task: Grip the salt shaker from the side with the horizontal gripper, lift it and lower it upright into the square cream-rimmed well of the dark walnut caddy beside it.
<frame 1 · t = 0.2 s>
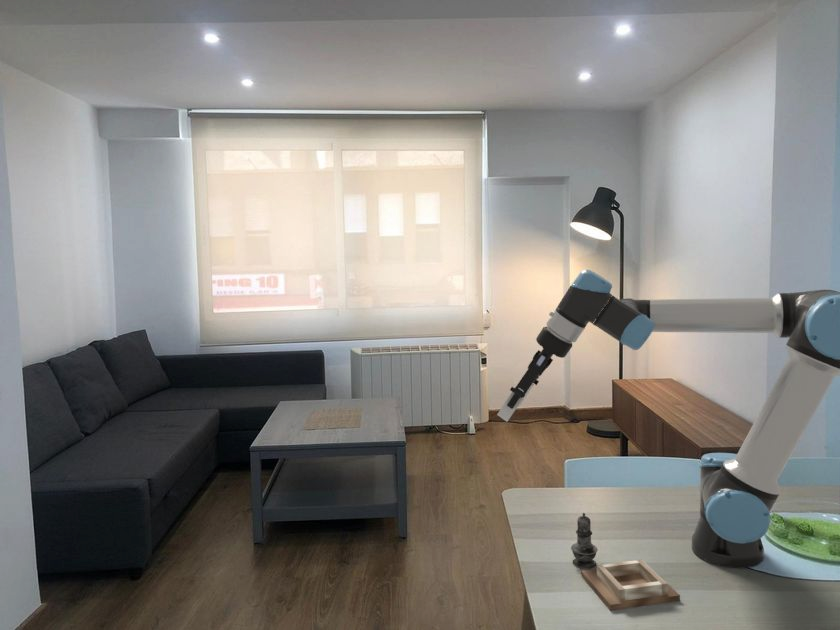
hand: (508, 410, 153), 35 cm above the table, tool tilted 35°, fingers open, 13 cm apart
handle: (760, 512, 175), on the table
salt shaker: (584, 564, 151), on the table
caddy: (628, 587, 140), on the table
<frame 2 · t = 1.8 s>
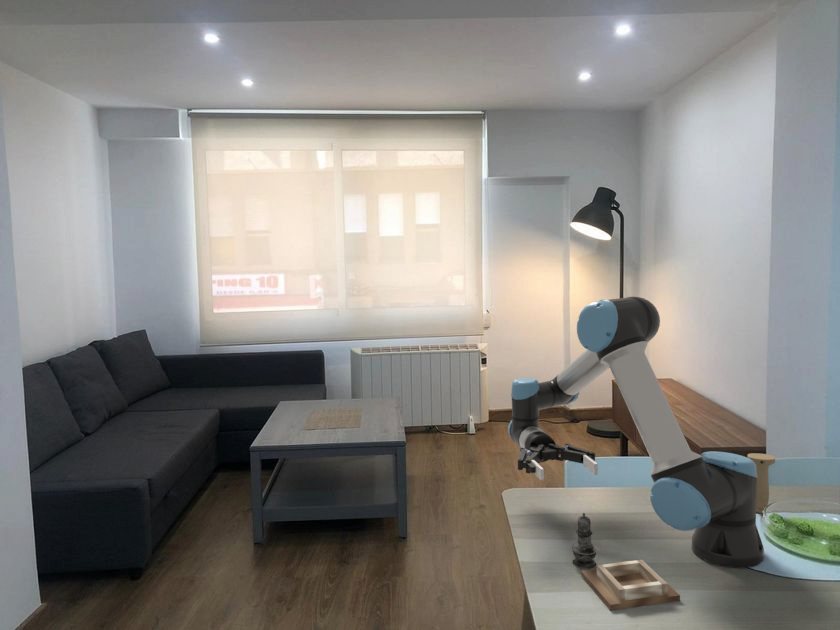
hand: (569, 472, 158), 18 cm above the table, tool horizontal, fingers open, 13 cm apart
nothing on the table moved.
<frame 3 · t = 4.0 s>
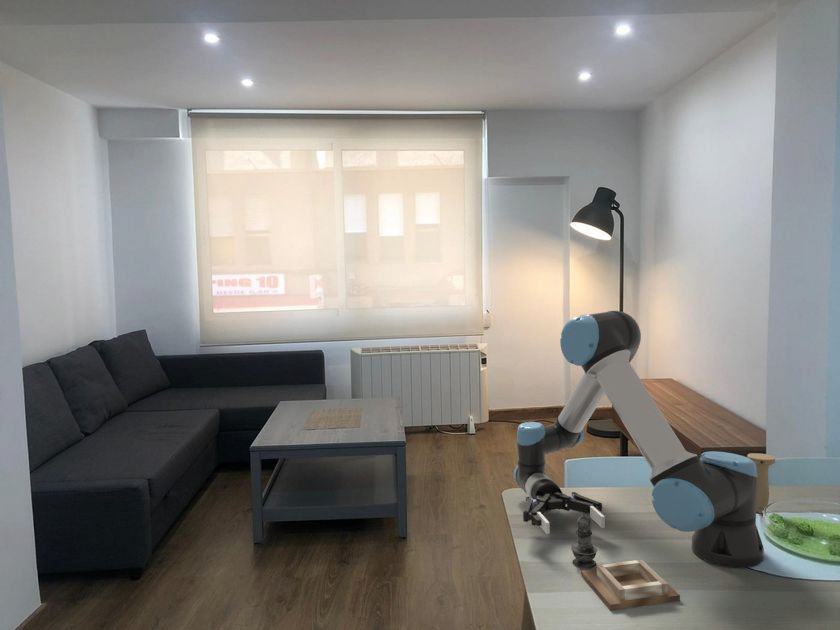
hand: (575, 525, 155), 7 cm above the table, tool horizontal, fingers open, 13 cm apart
nothing on the table moved.
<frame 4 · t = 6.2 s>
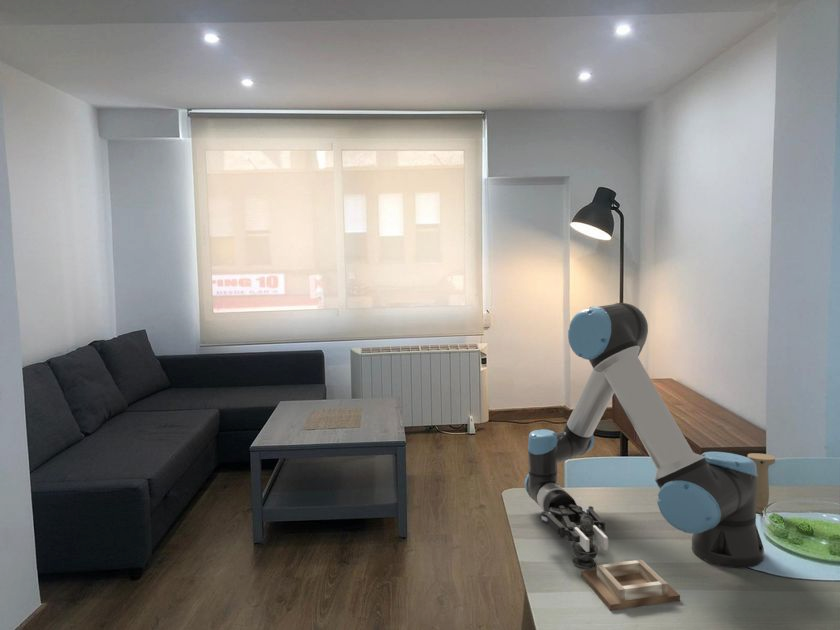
hand: (596, 544, 145), 7 cm above the table, tool horizontal, fingers closed on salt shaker, 4 cm apart
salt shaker: (584, 563, 151), on the table, touching gripper
everything else where it was.
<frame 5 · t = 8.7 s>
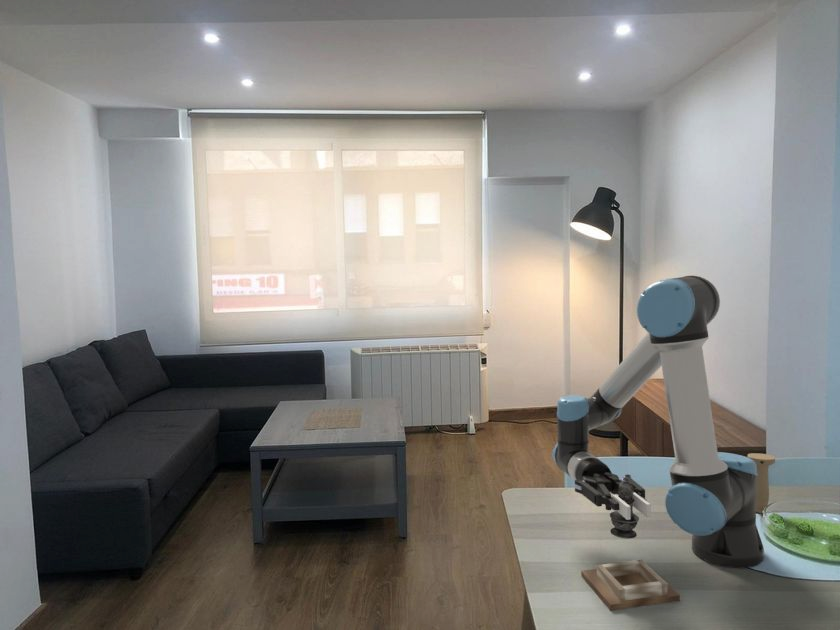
hand: (638, 511, 133), 19 cm above the table, tool horizontal, fingers closed on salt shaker, 4 cm apart
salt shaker: (623, 534, 139), point 12 cm above the table, touching gripper
everything else where it was.
when the fingers open (9 cm above the table, at t = 10.9 s): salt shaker drops 1 cm, resting on caddy.
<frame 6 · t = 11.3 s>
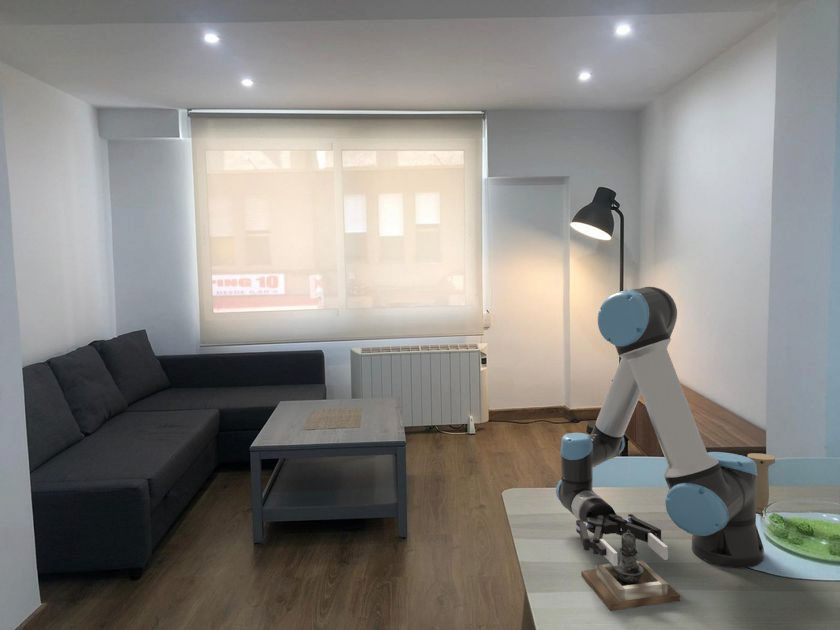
hand: (641, 556, 134), 9 cm above the table, tool horizontal, fingers open, 10 cm apart
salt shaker: (628, 585, 139), point 1 cm above the table, touching caddy
everything else where it was.
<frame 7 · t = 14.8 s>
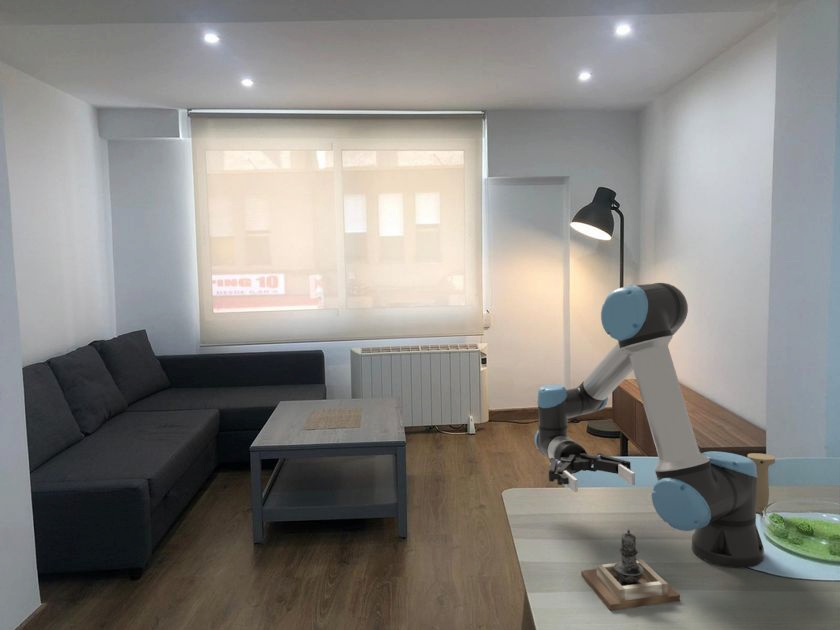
hand: (605, 482, 148), 19 cm above the table, tool horizontal, fingers open, 13 cm apart
nothing on the table moved.
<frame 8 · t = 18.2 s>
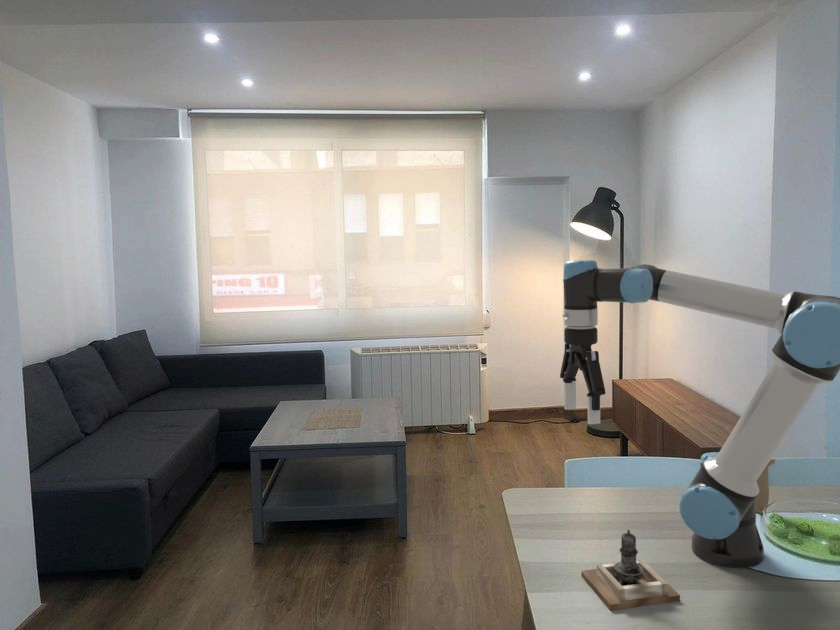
hand: (581, 416, 157), 32 cm above the table, tool pointing down, fingers open, 13 cm apart
nothing on the table moved.
at the end: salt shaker 0.5 cm from the target spot on the caddy, point 1.0 cm above the caddy's base; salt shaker tilted 0°; the gripper is holding nothing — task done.
